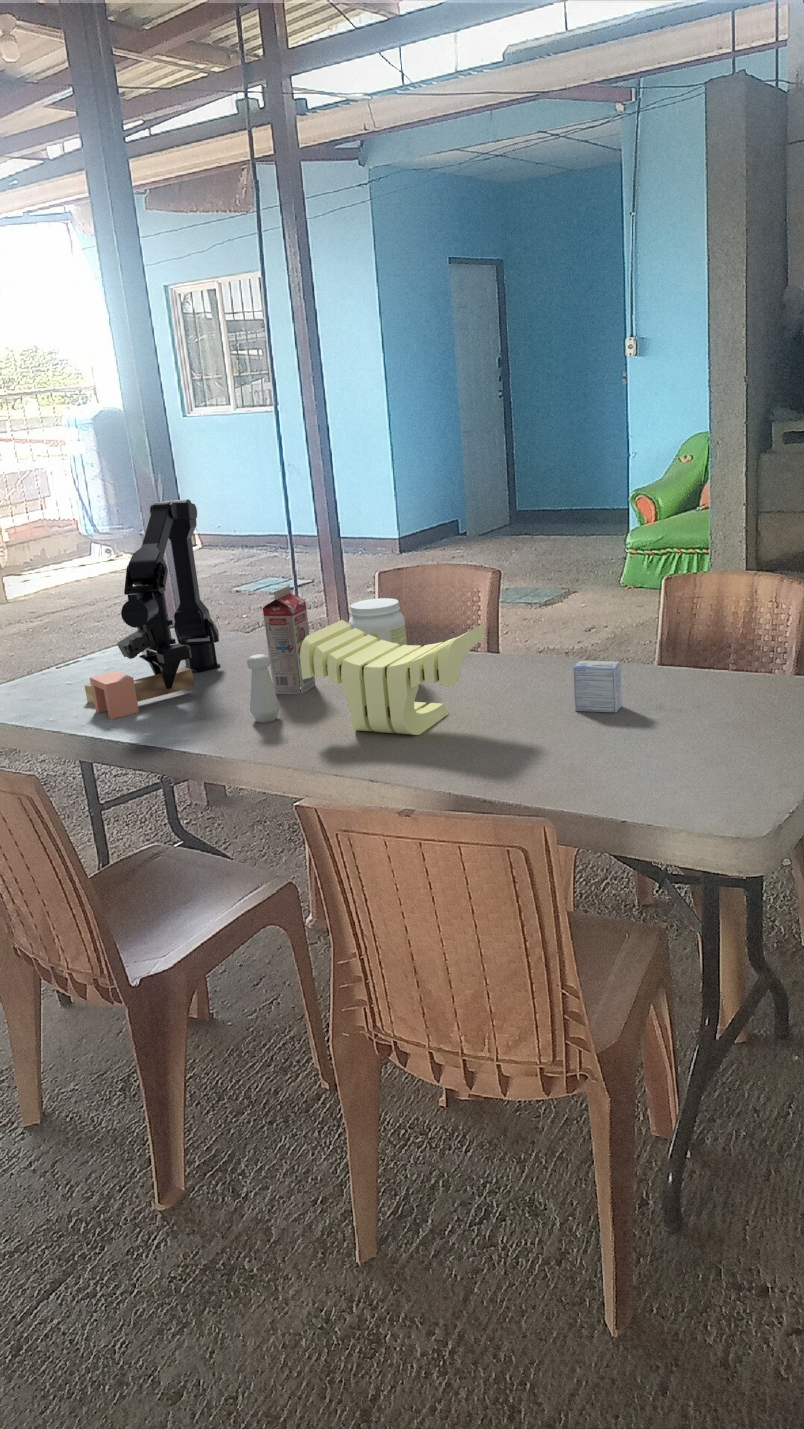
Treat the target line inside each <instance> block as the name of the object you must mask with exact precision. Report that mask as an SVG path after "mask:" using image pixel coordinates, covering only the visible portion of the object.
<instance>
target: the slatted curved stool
mask: <svg viewBox="0 0 804 1429" xmlns="http://www.w3.org/2000/svg"><path fill="white" fill-rule="evenodd" d="M484 624H485V623H484V622H483V623H481V624H479V625H478V626H476V627H475V628H473V629H471V630H469V631H467V632H464V633H463V634H461V635H459V636H456V637H453V638H450V639H447V640H446V641H440V642H436V643H431V644H430V643H429V644H425V645H424V646H422V645H411V644H407V645H402V646H401V647H400V646H399V644H397V643H392V642H388V641H385V640H380V641H378V640H377V638H376V637H374V636H371V635H369V634H368V635H366V636H364V632H363V631H361V630H359V629H357V628H354V629H352V630H351V625H350V624H348V622H347V621H345V620H343V619H340V620H339V621H338V620H337V621H336V622H334V623H332V624H330V625H327V626H325V627H323V628H321V629H319V630H316V631H314V632H312V633H309V635H308V636H306V638H305V639H304V640H303V642H302V645H301V649H300V662H301V670H302V679H307V678H311V677H313V676H314V677H315V678H323V679H324V678H326V677H328V678H327V679H328V680H330V681H332V682H333V683H335V684H337V685H340V684H341V686H342V692H343V695H344V698H345V700H346V702H347V706H348V707H349V711H350V715H351V721H352V726H353V730H354V731H360V732H361V731H362V732H376V733H388V734H399V735H413V736H419V735H421V734H423V733H424V732H426V731H427V730H428V729H430V728H431V727H432V726H434V725H435V724H437V723H438V722H439V721H440V720H443V718H445V717H447V715H449V714H450V713H449V711H448V709H447V707H446V705H445V704H444V703H439V702H438V703H437V702H429V704H427V702H420V701H416V697H417V693H418V691H419V688H420V685H421V684H423V683H425V684H437V683H438V682H439V685H440V686H444V687H447V688H452V686H455V685H456V684H458V682H461V672H462V665H463V662H464V659H465V658H466V656H467V654H469V652H470V651H471V650H472V649H473V648H474V647H475V645H477V644H479V643H480V642H481V641H482V640H484V639H485V625H484Z"/></svg>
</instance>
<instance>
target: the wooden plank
mask: <svg viewBox="0 0 804 1429" xmlns="http://www.w3.org/2000/svg"><path fill="white" fill-rule="evenodd" d="M134 685H135V691H136V697H137V703H138V702H142V701H146V700H150V699H154V698H157V697H162V696H164V695H169V694H173V693H177V692H181V691H184V690H185V691H186V690H188V689H189V690H190V689H192V688H195V683H194V676H193V671H192V669H189V668H186V667H185V666H184V667H182V668H178V669H177V673H176V676H175V679H174V682H173V685H172V688H171V689H166V686H165V683H164V680H163V677H162V673H161V674H157V675H154V674H153V675H149V676H145V677H140V678H137V679H134Z"/></svg>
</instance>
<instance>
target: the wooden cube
mask: <svg viewBox="0 0 804 1429" xmlns="http://www.w3.org/2000/svg"><path fill="white" fill-rule="evenodd" d="M84 692H85V696H86V701H87V703H88V704H94V698H93V693H92V688H91V682H90V683H88V684H84Z"/></svg>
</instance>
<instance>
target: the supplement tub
mask: <svg viewBox="0 0 804 1429" xmlns="http://www.w3.org/2000/svg"><path fill="white" fill-rule="evenodd" d="M349 608H350V615H351V617H350V618H349V620H348V622H347V623H348V624H350V625H351V630H352V629H354V628H357V629H359V630H361V631H363V632H364V636H366V635H368V634H369V635H371V636H374V637H376V638H377V640H378V641H380V640H385V641H388V642H392V643H397V644H399V646H400V647H401V646H402V645H408V642H407V641H408V640H407V632H406V630H407V629H406V620H405V617H404V615H403V613H401V611H400V610H401V606H400V602H399V600H398V599H396V598H387V597H382V598H381V597H380V598H371V599H365V600H358V601H356V602H354V603H351V604H350V606H349Z"/></svg>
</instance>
